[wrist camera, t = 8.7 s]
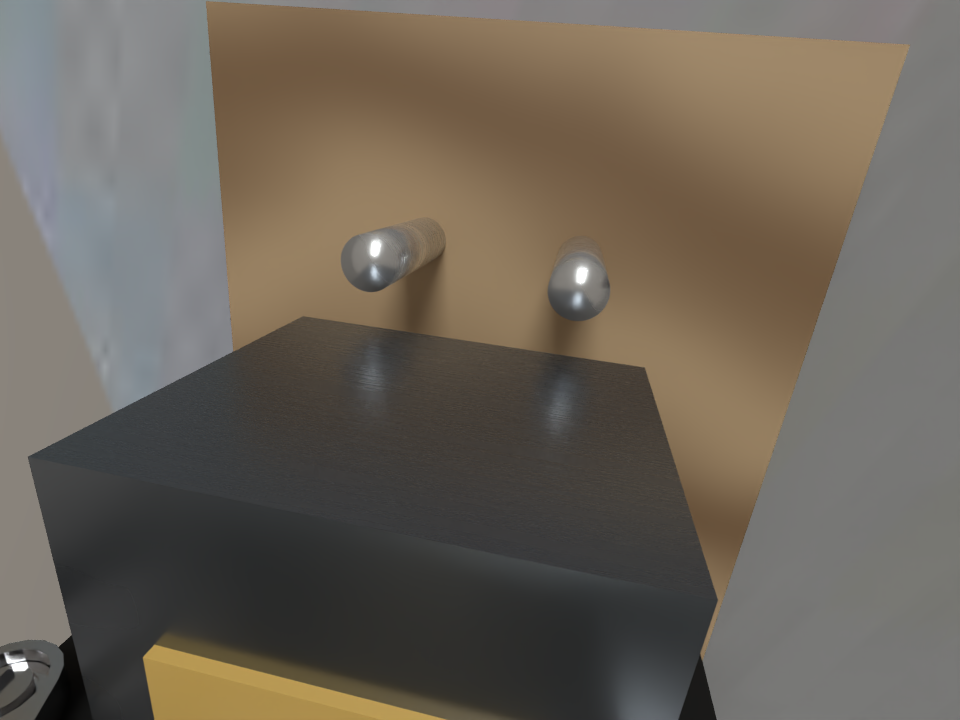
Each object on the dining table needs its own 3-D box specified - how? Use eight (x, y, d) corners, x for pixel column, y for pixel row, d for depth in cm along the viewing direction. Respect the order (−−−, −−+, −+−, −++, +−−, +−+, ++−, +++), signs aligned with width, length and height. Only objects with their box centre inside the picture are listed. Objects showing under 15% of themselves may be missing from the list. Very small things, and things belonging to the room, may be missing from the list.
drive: (303, 315, 9) (10, 465, 5) (644, 367, 8) (723, 616, 4) (313, 674, 13) (147, 983, 8) (562, 738, 12) (547, 1127, 7)
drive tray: (659, 722, 18) (686, 915, 13) (280, 631, 20) (188, 772, 15) (867, 61, 11) (1083, -23, 6) (247, 20, 13) (54, -68, 8)
